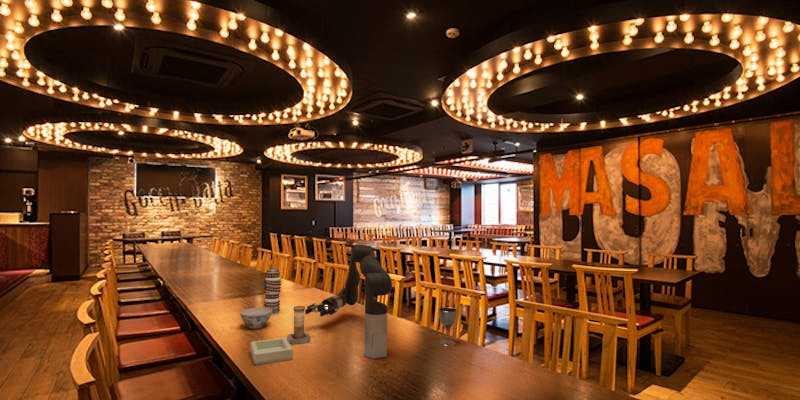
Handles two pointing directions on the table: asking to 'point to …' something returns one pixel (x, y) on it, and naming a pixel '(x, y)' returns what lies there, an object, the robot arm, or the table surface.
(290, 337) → the stop collar
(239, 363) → the table surface
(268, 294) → the decorative candle
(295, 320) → the stop peg
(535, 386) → the table surface
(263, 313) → the chinaware
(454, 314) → the wine glass
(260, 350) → the tray
